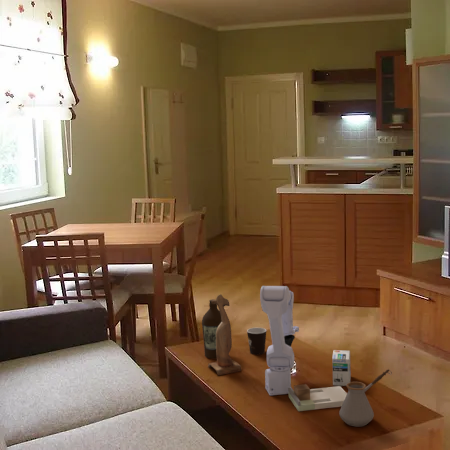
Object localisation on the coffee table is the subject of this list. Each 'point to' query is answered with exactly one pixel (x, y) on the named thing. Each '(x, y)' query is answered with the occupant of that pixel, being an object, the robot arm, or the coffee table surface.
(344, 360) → the light bulb box
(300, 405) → the trap deck
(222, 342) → the bird sculpture
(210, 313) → the olive oil
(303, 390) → the walnut block
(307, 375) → the coffee table surface
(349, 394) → the coffee pot
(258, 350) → the coffee mug
